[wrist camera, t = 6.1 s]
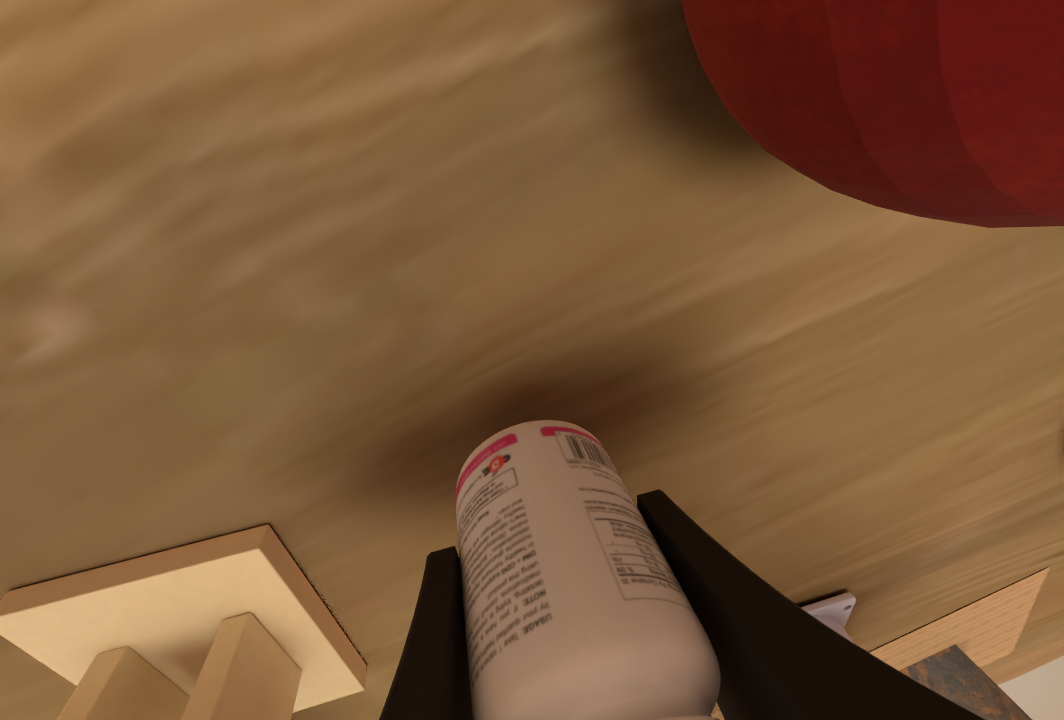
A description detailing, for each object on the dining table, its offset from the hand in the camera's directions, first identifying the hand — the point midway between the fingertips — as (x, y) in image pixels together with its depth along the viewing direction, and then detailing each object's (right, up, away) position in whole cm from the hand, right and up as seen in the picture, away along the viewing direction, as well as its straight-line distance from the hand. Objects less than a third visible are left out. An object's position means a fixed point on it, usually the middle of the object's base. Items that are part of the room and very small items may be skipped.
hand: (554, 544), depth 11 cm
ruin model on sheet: (+30, -22, +25) cm, 45 cm away
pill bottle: (-1, +1, +2) cm, 3 cm away
